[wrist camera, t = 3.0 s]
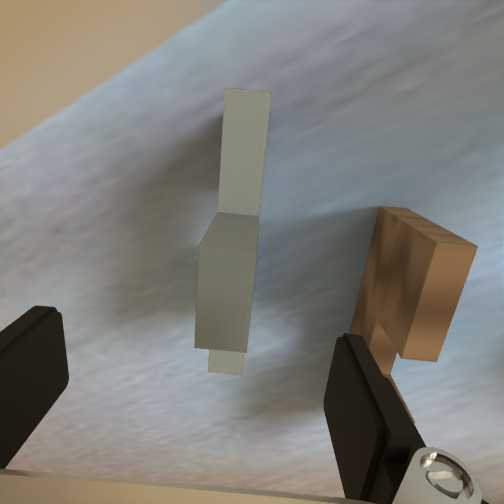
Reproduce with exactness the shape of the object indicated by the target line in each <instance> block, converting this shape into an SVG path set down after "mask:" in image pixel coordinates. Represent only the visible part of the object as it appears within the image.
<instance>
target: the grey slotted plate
mask: <svg viewBox="0 0 504 504" xmlns="http://www.w3.org/2000/svg"><path fill="white" fill-rule="evenodd" d="M271 94H272V92H264V91H254V90H244V89H235V88H225V94H224V111H223V128H222V145H221V161H220V178H219V195H218V212H217V214H216V215H215V217H214V219H213V221H212V223H211V224H210V226H209V228H208V230H207V232H206V233H205V235H204V237H203V239H202V241H201V242H200V244H199V251H198V275H197V300H196V324H195V348H201V349H209V363H208V372H216V373H226V374H237V375H242V370H243V361H244V353H247V343H248V334H249V325H250V316H251V306H252V297H253V288H254V278H255V269H256V260H257V249H258V222H259V208H260V199H261V189H262V180H263V170H264V161H265V151H266V142H267V132H268V123H269V113H270V104H271Z"/></svg>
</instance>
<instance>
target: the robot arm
mask: <svg viewBox="0 0 504 504" xmlns="http://www.w3.org/2000/svg"><path fill="white" fill-rule="evenodd" d="M68 381H69V373H68V364H67V356H66V347H65V338H64V330H63V321H62V315H61V313H60V312H57V309H56V308H55V307H48V306H34V307H32V308H31V309H30V310H28V311H27V312H26V313H24V314H23V315H22V316H21V317H19V318H18V319H17V320H15V321H14V322H13V323H11V324H10V325H9V326H8V327H6V328H5V329H4V330H2V331H1V332H0V504H488V503H487V502H486V501H484V500H483V499H482V489H481V486H480V484H479V481H478V479H477V478H476V476H475V475H474V474H473V472H472V471H471V470H470V469H469V468H468V467H467V466H466V465H465V464H464V463H463V462H462V461H461V460H459V459H458V458H456V457H455V456H454V455H452V454H450V453H448V452H446V451H444V450H441V449H438V448H434V447H426V445H425V443H424V441H423V440H422V438H421V436H420V434H419V432H418V430H417V429H416V427H415V425H414V423H413V421H412V419H411V418H410V416H409V414H408V412H407V410H406V408H405V407H404V405H403V403H402V401H401V399H400V397H399V396H398V394H397V392H396V390H395V388H394V386H393V385H392V383H391V381H390V380H389V378H387V377H384V376H383V374H382V372H381V370H380V369H379V367H378V365H377V363H376V361H375V359H374V357H373V355H372V353H371V351H370V350H369V348H368V346H367V344H366V342H365V340H364V338H363V336H362V335H357V334H346V333H345V334H343V336H342V337H338V338H337V341H336V345H335V350H334V354H333V359H332V364H331V368H330V373H329V378H328V382H327V387H326V391H325V396H324V412H325V416H326V420H327V424H328V428H329V432H330V436H331V441H332V445H333V449H334V453H335V457H336V461H337V465H338V469H339V473H340V477H341V481H342V485H343V490H344V494H345V498H339V497H329V496H320V495H310V494H301V493H292V492H282V491H270V490H259V489H247V488H236V487H224V486H213V485H201V484H189V483H177V482H165V481H153V480H141V479H128V478H116V477H103V476H90V475H78V474H64V473H51V472H37V471H24V470H10V469H5V468H6V466H7V465H8V464H9V462H10V461H11V460H12V458H13V457H14V456H15V454H16V453H17V452H18V450H19V449H20V448H21V446H22V445H23V444H24V442H25V441H26V440H27V439H28V437H29V436H30V435H31V433H32V432H33V431H34V429H35V428H36V427H37V425H38V424H39V423H40V421H41V420H42V419H43V417H44V416H45V415H46V413H47V412H48V411H49V409H50V408H51V407H52V405H53V404H54V403H55V401H56V400H57V399H58V398H59V396H60V395H61V394H62V392H63V391H64V390H65V388H66V386H67V384H68Z"/></svg>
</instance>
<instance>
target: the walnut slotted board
mask: <svg viewBox="0 0 504 504" xmlns="http://www.w3.org/2000/svg"><path fill="white" fill-rule="evenodd" d="M477 247H478V246H476V245H474V244H472V243H470V242H469V241H467V240H465V239H463V238H461V237H459V236H457V235H455V234H454V233H452V232H450V231H448V230H446V229H444V228H442V227H440V226H439V225H437V224H435V223H433V222H431V221H429V220H427V219H425V218H424V217H422V216H420V215H418V214H416V213H414V212H412V211H410V210H408V209H405V208H395V207H385V206H380V207H379V212H378V216H377V220H376V224H375V229H374V233H373V237H372V241H371V246H370V250H369V254H368V258H367V263H366V267H365V271H364V275H363V280H362V284H361V288H360V292H359V297H358V301H357V305H356V309H355V314H354V318H353V322H352V326H351V331H350V334H357V335H362V336H363V338H364V340H365V342H366V344H367V346H368V348H369V350H370V351H371V353H372V355H373V357H374V359H375V361H376V363H377V365H378V367H379V369H380V370H381V372H382V374H383V376H384V377H387V378H389V380H390V381H391V383H392V385H393V386H394V388H395V390H396V392H397V394H398V396H399V397H400V399H401V401H402V403H403V405H404V407H405V408H406V410H407V412H408V414H409V416H410V418H411V419H412V421H413V423H414V424H415V421H414V419H413V417H412V415H411V413H410V411H409V409H408V408H407V406H406V404H405V402H404V400H403V398H402V396H401V394H400V392H399V390H398V389H397V387H396V385H395V383H394V381H393V379H392V377H391V375H390V373H391V370H392V367H393V363H394V360H395V357H396V353H397V352H398V354H399V356H400V357H401V358H402V359H412V360H422V361H432V362H437V360H438V357H439V354H440V351H441V348H442V346H443V343H444V340H445V337H446V334H447V331H448V329H449V326H450V323H451V320H452V317H453V315H454V312H455V309H456V306H457V303H458V301H459V298H460V295H461V292H462V289H463V287H464V284H465V281H466V278H467V275H468V273H469V270H470V267H471V264H472V261H473V259H474V256H475V253H476V250H477Z"/></svg>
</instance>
